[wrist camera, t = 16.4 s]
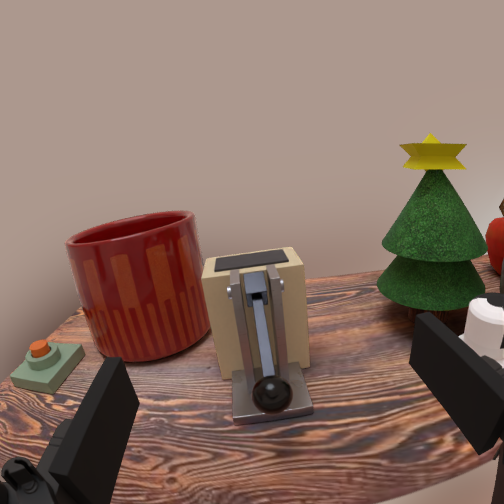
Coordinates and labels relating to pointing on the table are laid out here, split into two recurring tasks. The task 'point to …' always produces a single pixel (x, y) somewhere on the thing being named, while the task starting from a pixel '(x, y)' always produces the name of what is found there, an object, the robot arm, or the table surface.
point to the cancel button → (39, 348)
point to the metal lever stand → (249, 376)
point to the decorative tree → (433, 239)
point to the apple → (496, 243)
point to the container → (486, 326)
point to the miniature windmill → (502, 207)
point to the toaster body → (223, 310)
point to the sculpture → (502, 279)
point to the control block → (48, 368)
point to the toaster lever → (265, 352)
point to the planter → (141, 285)
